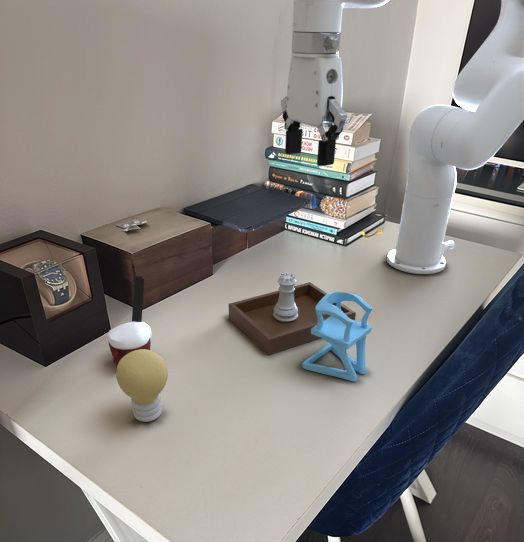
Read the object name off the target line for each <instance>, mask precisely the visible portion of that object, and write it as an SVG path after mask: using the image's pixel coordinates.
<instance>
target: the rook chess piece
mask: <svg viewBox="0 0 524 542" xmlns="http://www.w3.org/2000/svg"><path fill="white" fill-rule="evenodd" d="M295 277H296V275H295V274H294V273H292V272H291V273H290V272H285V273H284V272H281V274H279V277H278V279H277V283H278V284H279V287H278V291H280V295H279V300H278V302H277V303H276V306H275V307H274V313H273V316H274V317H275V319H276V320H278V321H280V322H292V321H294V320H295V319H296V318H297V317H298V308H297V307H296V304H295V302H294V290H295V288H294V286H296V283H297V282H298V281H297V279H296V278H295Z"/></svg>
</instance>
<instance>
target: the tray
mask: <svg viewBox="0 0 524 542" xmlns="http://www.w3.org/2000/svg"><path fill="white" fill-rule="evenodd" d="M294 288H295V290H294V302H295V304H296V307H297V308H298V317H297V318H296V319H295V320H294V321H292V322H280V321H278V320H276V319H275V317H274V316H273V313H274V307H275V306H276V303H277V302H278V300H279V295H280V291H279V290H275V291H271V292H267V293H264V294H259V295H257V296H252V297H249V298H245V299H241V300H238V301H233V302H230V303H228V319H229V320H230V321H231V322H232V323H233V324H234V325H235V326H236V327H237V328H238V329H240V330H241V331H242V332H243V333H244V334H245V335H246V336H247V337H248V338H249V339H251V341H253V342H254V343H255V344H256V345H257V346H258V347H259V348H260V349H261V350H262V351H263V352H264V353H266V355H268V356H271V355H275V354H276V353H280V352H283V351H286V350H289V349H291V348H295V347H298V346H301V345H304V344H307V343H310V342H313V341H316V340H319V339H322V338H321V337H318V336H316V335H313V334H311V328H313V327H314V326H316V325H317V324H318V317H317V314H316V309H315V307H316V305H317V304H318V303H319V301H320V300H321V299H322V298H323V297H324V296H325V295H326V294H328V292H326V291H324V290H323V289H321V288H320V287H319V286H316V285H315V284H314V283H312V282H310V281H309V282H305V283H301V284H298V285H294ZM333 305H335V306H336V303H333ZM341 311H342V312H343V313H344V314H345V315H346V316H347V317H349V318H350V319H352V320H354V321H356V315H357V312H356V311H355V310H353V309H351V308H350V307H349V306H347V305H345V304H344V303H343V302H341ZM321 315H322V317H323V321H324V320H326V319H327V318H329V317H330V316H331V315H328V314H321Z"/></svg>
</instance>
